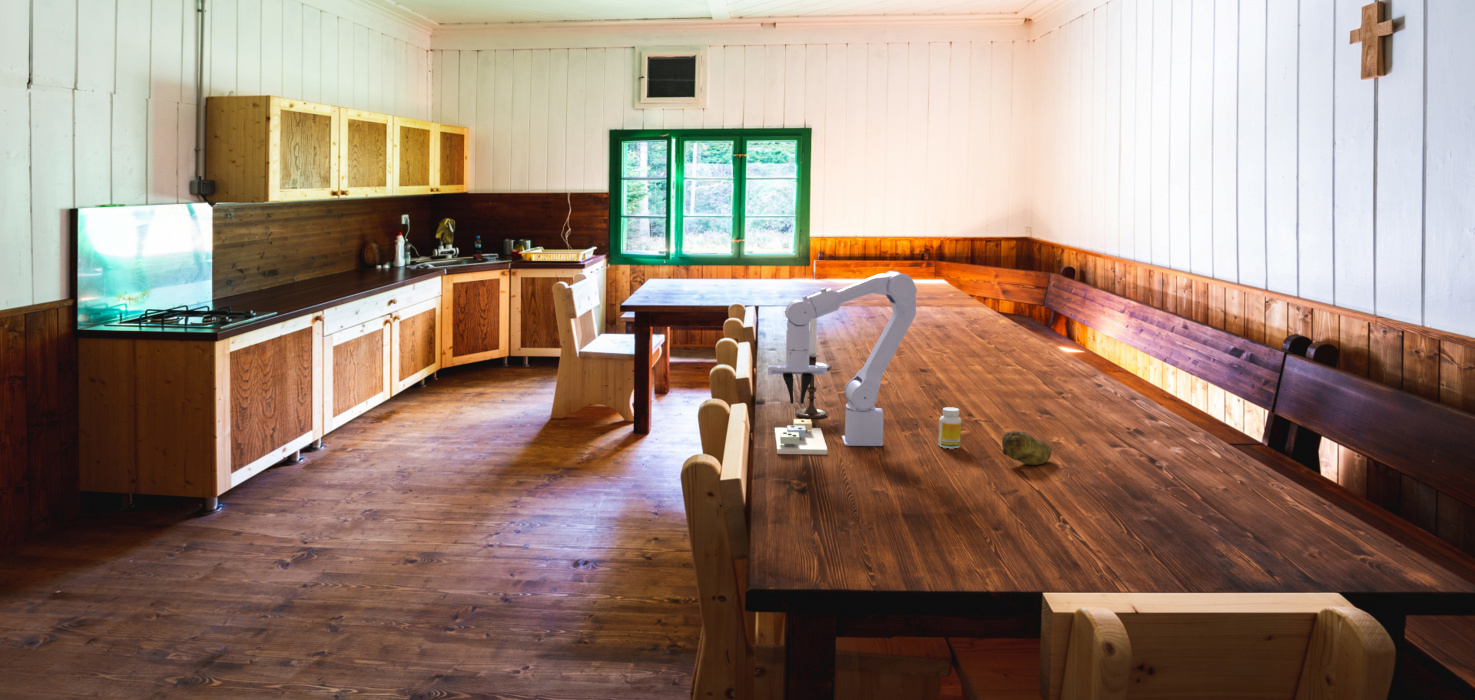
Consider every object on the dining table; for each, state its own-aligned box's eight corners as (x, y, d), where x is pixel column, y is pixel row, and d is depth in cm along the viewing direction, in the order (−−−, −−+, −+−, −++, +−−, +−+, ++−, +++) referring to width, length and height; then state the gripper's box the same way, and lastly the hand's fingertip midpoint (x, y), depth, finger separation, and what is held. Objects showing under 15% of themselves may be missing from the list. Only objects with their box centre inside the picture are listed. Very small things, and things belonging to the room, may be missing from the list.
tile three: (798, 438, 219) (798, 431, 218) (799, 443, 214) (799, 436, 214) (779, 438, 219) (780, 431, 218) (780, 443, 214) (780, 436, 214)
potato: (1061, 468, 204) (1063, 434, 203) (1007, 469, 203) (1009, 435, 202) (1045, 458, 212) (1047, 425, 211) (993, 459, 211) (995, 426, 210)
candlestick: (832, 419, 247) (835, 294, 241) (793, 419, 247) (795, 294, 241) (828, 410, 258) (831, 290, 252) (791, 410, 258) (793, 289, 252)
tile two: (804, 432, 225) (804, 424, 225) (805, 436, 221) (805, 429, 220) (786, 431, 225) (786, 424, 225) (787, 436, 221) (787, 429, 220)
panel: (820, 432, 234) (820, 424, 233) (827, 454, 214) (827, 445, 213) (774, 432, 234) (774, 423, 233) (777, 453, 214) (777, 444, 214)
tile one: (810, 425, 231) (810, 418, 231) (811, 430, 227) (812, 422, 227) (793, 425, 231) (793, 418, 231) (794, 429, 227) (794, 422, 227)
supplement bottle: (933, 444, 223) (935, 407, 221) (952, 442, 225) (954, 405, 223) (945, 450, 218) (947, 412, 216) (964, 448, 220) (966, 410, 218)
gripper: (825, 346, 223) (824, 399, 225) (768, 346, 223) (767, 398, 225) (828, 351, 216) (827, 405, 218) (768, 350, 216) (768, 405, 219)
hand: (796, 402), depth 221 cm, fingers closed
